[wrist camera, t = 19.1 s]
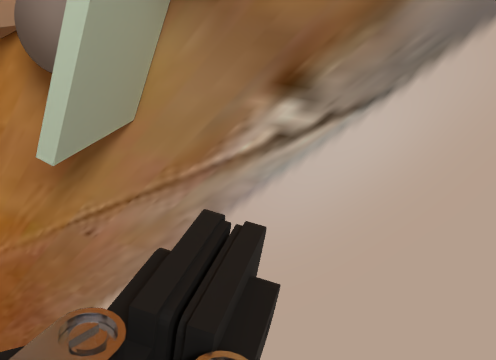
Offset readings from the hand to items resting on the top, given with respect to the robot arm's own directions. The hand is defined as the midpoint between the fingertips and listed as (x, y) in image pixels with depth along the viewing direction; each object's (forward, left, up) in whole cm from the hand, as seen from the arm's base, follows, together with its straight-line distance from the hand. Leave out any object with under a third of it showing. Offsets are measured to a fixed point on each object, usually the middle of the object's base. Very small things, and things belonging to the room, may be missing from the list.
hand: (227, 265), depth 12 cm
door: (+10, -8, -22) cm, 25 cm away
